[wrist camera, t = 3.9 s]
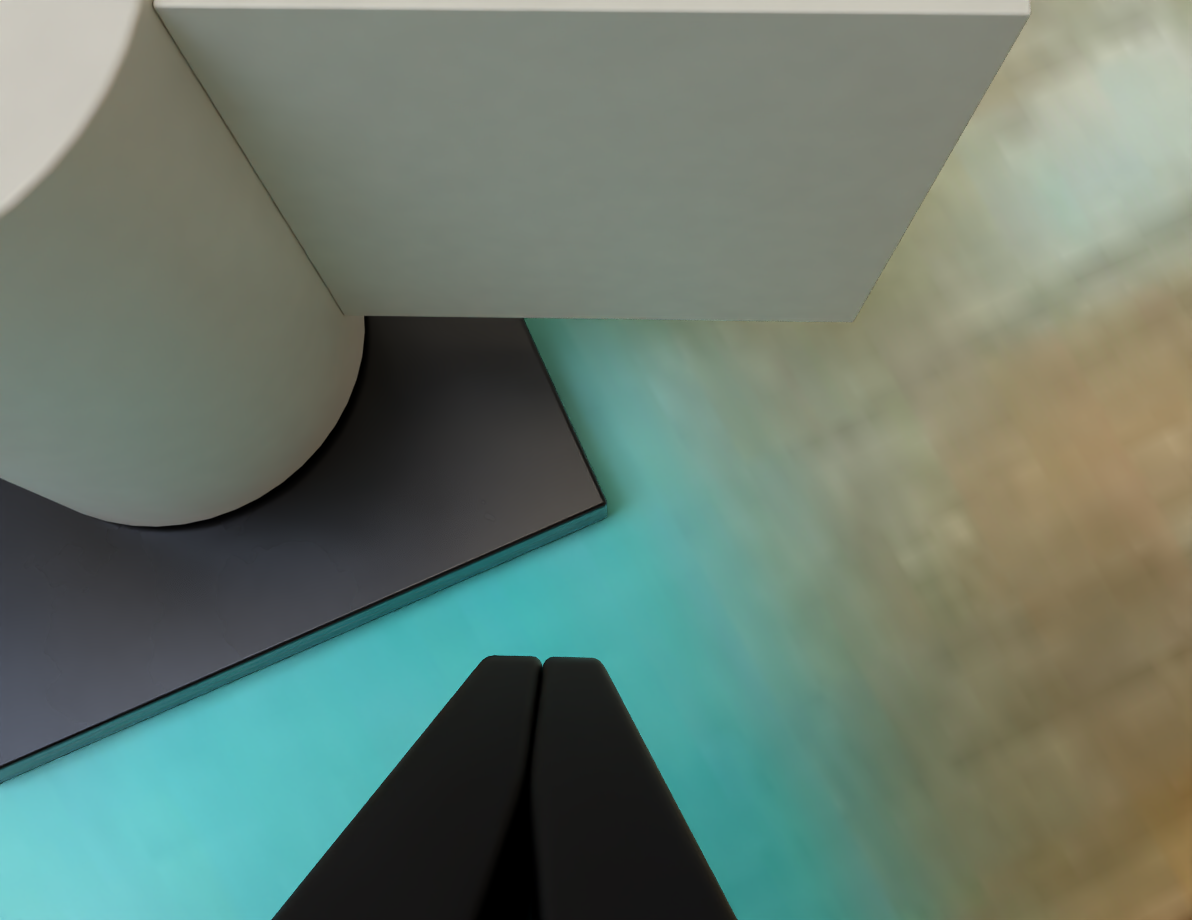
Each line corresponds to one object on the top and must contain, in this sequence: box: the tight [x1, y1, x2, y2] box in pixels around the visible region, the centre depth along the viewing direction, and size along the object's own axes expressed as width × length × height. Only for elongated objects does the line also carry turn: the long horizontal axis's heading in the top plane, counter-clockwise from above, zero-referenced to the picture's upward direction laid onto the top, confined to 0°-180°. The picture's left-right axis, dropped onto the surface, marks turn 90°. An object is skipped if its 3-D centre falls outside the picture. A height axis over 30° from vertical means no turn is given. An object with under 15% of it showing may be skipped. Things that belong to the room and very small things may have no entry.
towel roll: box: [0, 0, 1031, 527], centre depth 15 cm, size 9×14×10 cm, turn 114°
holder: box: [0, 316, 607, 783], centre depth 21 cm, size 12×12×1 cm
